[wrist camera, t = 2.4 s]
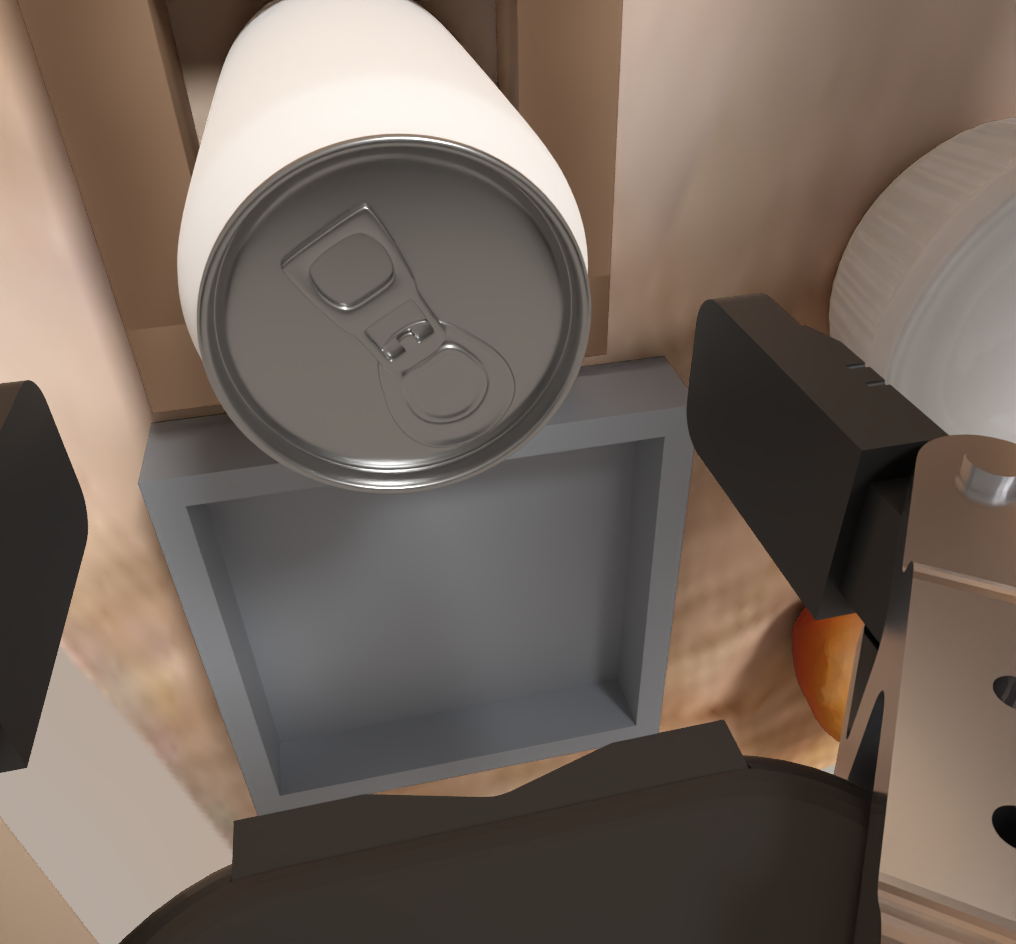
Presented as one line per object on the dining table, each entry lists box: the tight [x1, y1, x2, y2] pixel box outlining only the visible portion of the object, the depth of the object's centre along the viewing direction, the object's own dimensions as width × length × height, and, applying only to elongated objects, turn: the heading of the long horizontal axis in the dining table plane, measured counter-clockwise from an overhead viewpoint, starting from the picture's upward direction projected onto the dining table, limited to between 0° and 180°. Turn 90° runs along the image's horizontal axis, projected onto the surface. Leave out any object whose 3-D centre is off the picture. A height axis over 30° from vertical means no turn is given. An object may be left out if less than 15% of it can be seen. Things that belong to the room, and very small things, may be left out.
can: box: [177, 0, 591, 494], centre depth 17 cm, size 6×6×12 cm
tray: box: [138, 356, 694, 816], centre depth 30 cm, size 16×16×3 cm
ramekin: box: [829, 117, 1016, 443], centre depth 26 cm, size 11×11×5 cm
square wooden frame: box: [18, 0, 623, 413], centre depth 21 cm, size 12×12×2 cm
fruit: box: [792, 607, 864, 742], centre depth 36 cm, size 8×8×8 cm
